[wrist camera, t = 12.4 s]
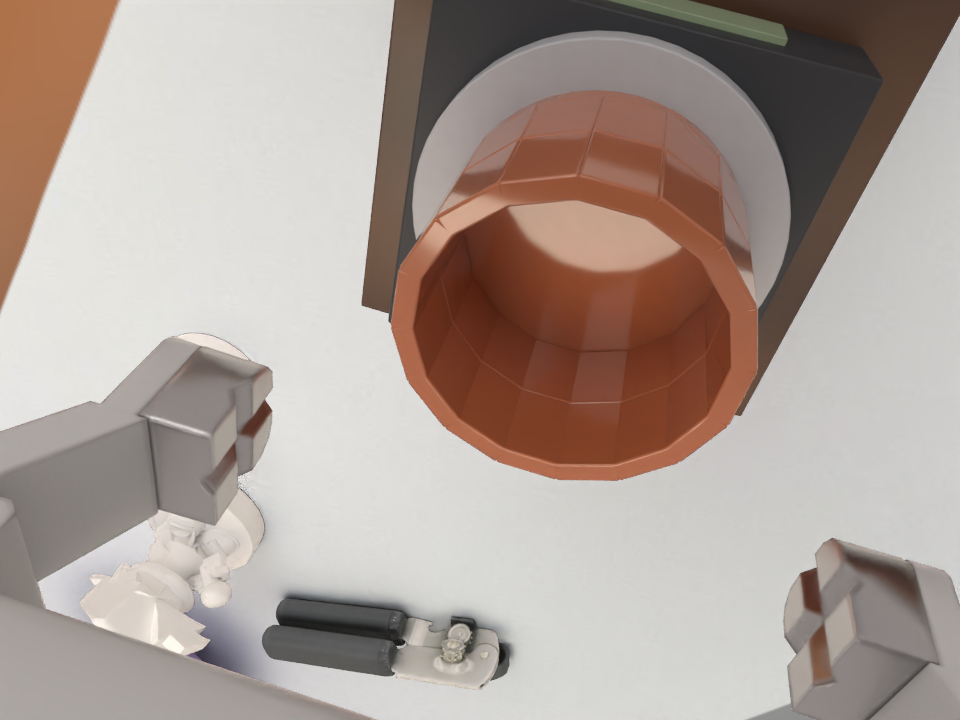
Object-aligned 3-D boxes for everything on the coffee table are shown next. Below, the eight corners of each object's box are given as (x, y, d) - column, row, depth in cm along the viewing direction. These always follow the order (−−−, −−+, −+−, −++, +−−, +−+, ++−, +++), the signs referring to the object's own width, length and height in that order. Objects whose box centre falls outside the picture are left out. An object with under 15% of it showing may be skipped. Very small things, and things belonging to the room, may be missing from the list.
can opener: (509, 617, 58) (495, 678, 54) (512, 666, 62) (499, 726, 58) (276, 581, 62) (248, 635, 58) (293, 629, 66) (267, 683, 62)
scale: (466, -63, 17) (429, -40, 15) (867, 40, 16) (896, 81, 14) (413, 278, 23) (380, 335, 20) (710, 364, 22) (711, 433, 20)
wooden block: (535, -175, 29) (410, -151, 16) (850, -98, 28) (974, -9, 16) (477, 128, 36) (360, 305, 24) (725, 196, 36) (740, 417, 23)
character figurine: (285, 542, 59) (207, 685, 49) (195, 557, 63) (106, 692, 53) (220, 460, 55) (121, 598, 45) (127, 481, 59) (19, 612, 49)
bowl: (481, 52, 16) (417, 129, 12) (797, 137, 15) (828, 243, 12) (433, 311, 20) (375, 426, 16) (683, 384, 19) (679, 518, 16)
